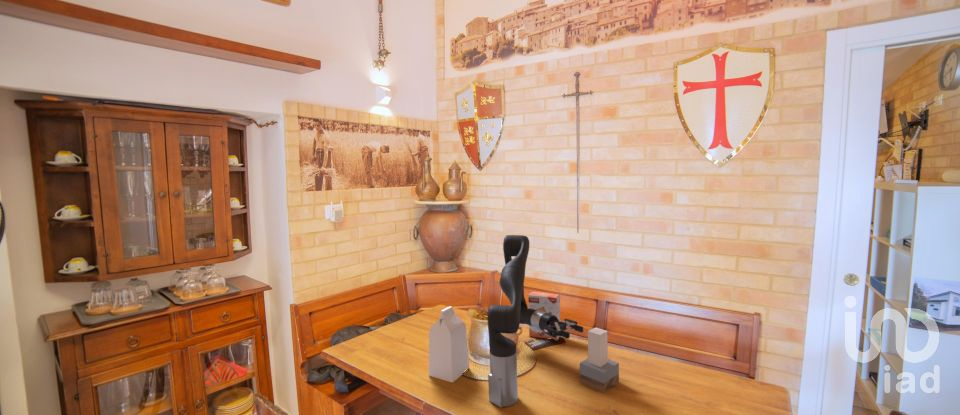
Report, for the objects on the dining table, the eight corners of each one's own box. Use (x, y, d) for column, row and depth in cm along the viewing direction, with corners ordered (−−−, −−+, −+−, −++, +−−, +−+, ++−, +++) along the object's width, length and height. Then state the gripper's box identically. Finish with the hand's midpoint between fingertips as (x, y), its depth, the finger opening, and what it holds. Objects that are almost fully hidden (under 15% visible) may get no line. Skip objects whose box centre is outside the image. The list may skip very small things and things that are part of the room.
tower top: (604, 383, 137) (604, 372, 137) (579, 373, 144) (579, 363, 144) (618, 373, 144) (618, 362, 143) (594, 364, 151) (594, 354, 151)
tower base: (603, 393, 138) (603, 383, 137) (579, 383, 145) (579, 372, 145) (618, 383, 144) (618, 372, 144) (595, 373, 152) (595, 363, 151)
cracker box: (528, 336, 187) (527, 294, 186) (533, 332, 192) (532, 290, 191) (557, 341, 181) (556, 297, 179) (560, 336, 186) (560, 293, 184)
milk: (446, 362, 164) (443, 302, 162) (469, 368, 158) (467, 306, 156) (428, 375, 154) (425, 311, 152) (452, 382, 148) (449, 315, 146)
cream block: (600, 367, 140) (599, 335, 139) (588, 362, 144) (587, 331, 143) (607, 362, 144) (607, 331, 143) (595, 358, 147) (595, 327, 146)
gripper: (532, 317, 158) (564, 328, 146) (555, 308, 167) (587, 318, 155) (532, 335, 159) (564, 347, 146) (555, 325, 168) (587, 337, 155)
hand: (576, 332), depth 151 cm, fingers open, 8 cm apart
